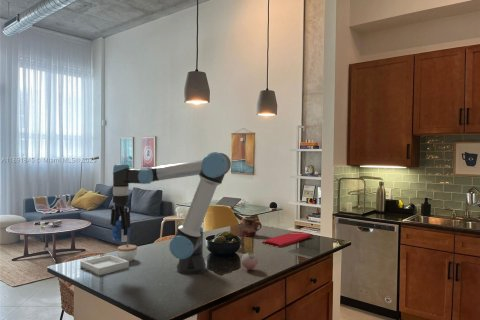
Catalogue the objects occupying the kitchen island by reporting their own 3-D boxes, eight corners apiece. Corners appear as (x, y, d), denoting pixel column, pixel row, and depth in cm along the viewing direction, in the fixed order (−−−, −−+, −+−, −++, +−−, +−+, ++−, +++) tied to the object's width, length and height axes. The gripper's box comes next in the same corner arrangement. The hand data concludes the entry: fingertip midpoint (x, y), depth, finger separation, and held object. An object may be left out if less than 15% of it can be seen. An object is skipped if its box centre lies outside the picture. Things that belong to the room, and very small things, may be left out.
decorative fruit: (238, 268, 192) (239, 249, 192) (252, 266, 195) (253, 248, 195) (245, 273, 183) (245, 254, 183) (259, 272, 186) (260, 252, 186)
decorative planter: (266, 236, 272) (266, 217, 272) (257, 239, 262) (257, 220, 262) (244, 232, 283) (244, 215, 283) (235, 235, 273) (235, 217, 273)
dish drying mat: (261, 244, 248) (261, 238, 248) (294, 235, 278) (294, 230, 278) (279, 248, 237) (279, 242, 237) (312, 238, 267) (312, 233, 267)
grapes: (124, 238, 187) (125, 215, 187) (133, 240, 183) (134, 216, 183) (105, 242, 177) (106, 218, 177) (114, 244, 173) (115, 220, 173)
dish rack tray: (128, 267, 191) (128, 261, 191) (98, 275, 178) (98, 268, 178) (109, 260, 203) (109, 254, 203) (80, 267, 190) (80, 261, 190)
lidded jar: (131, 263, 198) (131, 246, 198) (113, 262, 200) (113, 245, 200) (140, 258, 209) (140, 242, 209) (123, 257, 211) (123, 241, 211)
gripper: (138, 195, 176) (137, 242, 177) (116, 192, 189) (115, 236, 189) (125, 197, 171) (124, 245, 171) (103, 193, 183) (102, 238, 183)
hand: (120, 240), depth 180 cm, fingers closed on grapes, 7 cm apart
